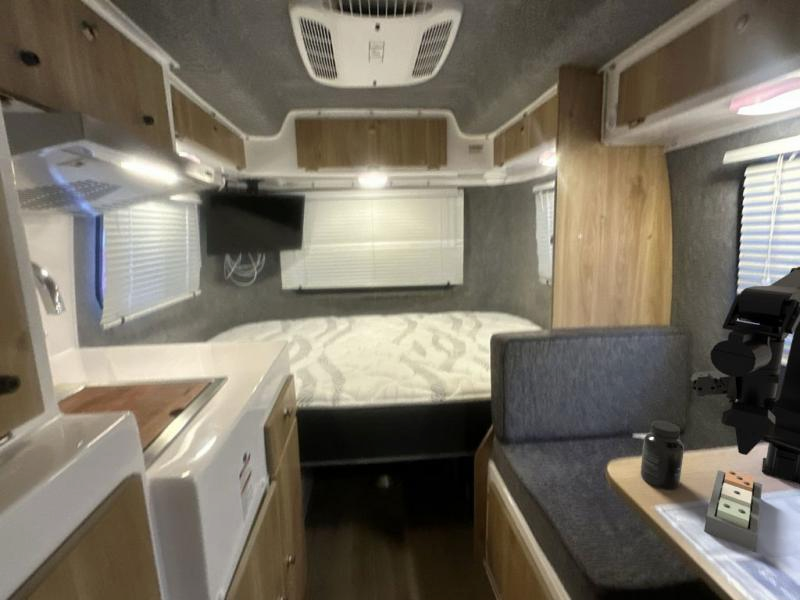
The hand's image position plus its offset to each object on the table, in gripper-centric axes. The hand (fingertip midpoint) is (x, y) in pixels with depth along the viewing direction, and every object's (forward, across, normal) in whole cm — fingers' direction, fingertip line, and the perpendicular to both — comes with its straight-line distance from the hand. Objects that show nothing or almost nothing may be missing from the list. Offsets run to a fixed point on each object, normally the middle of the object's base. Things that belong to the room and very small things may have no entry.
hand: (743, 448), depth 70 cm
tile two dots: (+11, +6, 0) cm, 12 cm away
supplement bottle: (+13, -2, -12) cm, 18 cm away
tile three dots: (+11, -6, 0) cm, 12 cm away
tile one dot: (+11, 0, 0) cm, 11 cm away
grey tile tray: (+13, 0, 0) cm, 13 cm away
